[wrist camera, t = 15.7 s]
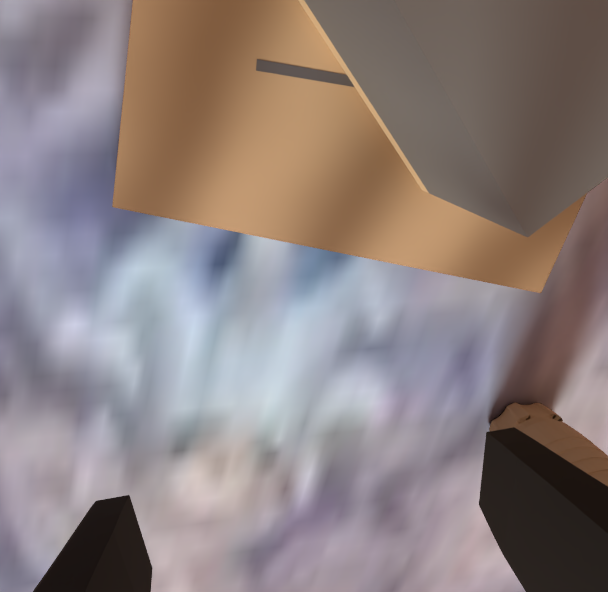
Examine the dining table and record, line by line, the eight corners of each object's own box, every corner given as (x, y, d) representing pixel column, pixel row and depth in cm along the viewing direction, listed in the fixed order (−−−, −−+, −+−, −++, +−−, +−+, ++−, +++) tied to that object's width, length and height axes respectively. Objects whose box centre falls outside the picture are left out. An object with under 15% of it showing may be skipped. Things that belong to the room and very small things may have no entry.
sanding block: (272, -39, 12) (308, -151, 7) (409, -166, 12) (566, -397, 6) (421, 190, 16) (527, 237, 10) (535, 99, 15) (713, 97, 9)
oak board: (120, 199, 15) (111, 207, 14) (170, -280, 11) (164, -322, 10) (522, 282, 19) (541, 293, 18) (671, -55, 15) (708, -67, 14)
